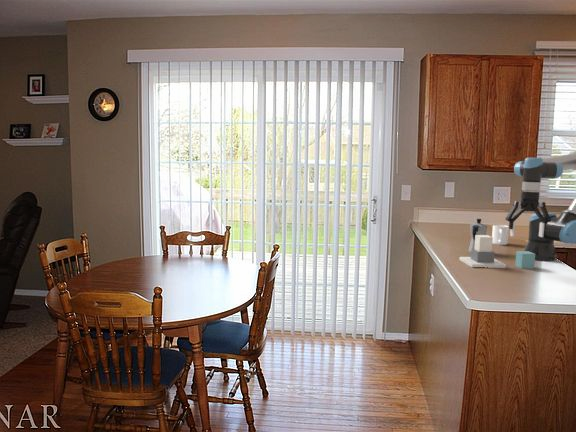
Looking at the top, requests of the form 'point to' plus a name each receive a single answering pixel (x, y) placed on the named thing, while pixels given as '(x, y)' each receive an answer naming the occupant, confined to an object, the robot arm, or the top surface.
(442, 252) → the top surface
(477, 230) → the coffee maker
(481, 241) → the cream block
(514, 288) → the top surface
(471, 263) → the tower base
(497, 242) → the mug
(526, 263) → the teal block
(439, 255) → the top surface
